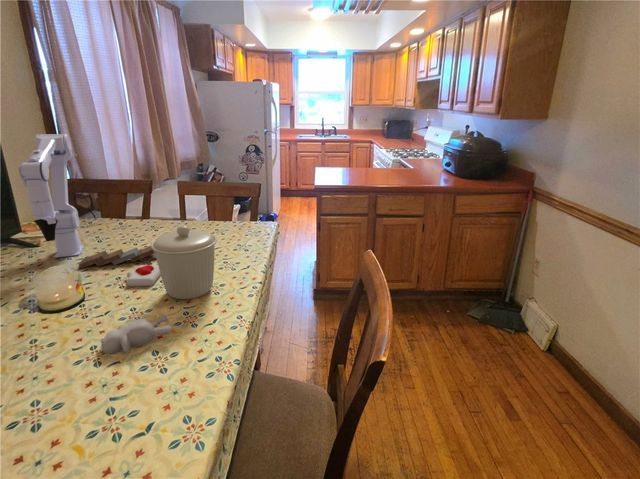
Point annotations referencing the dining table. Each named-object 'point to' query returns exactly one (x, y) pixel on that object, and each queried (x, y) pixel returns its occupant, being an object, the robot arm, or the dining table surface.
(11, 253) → the dining table surface
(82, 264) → the domino
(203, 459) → the dining table surface
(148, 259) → the domino
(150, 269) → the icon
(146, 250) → the domino
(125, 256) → the loose domino
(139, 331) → the bunny figurine
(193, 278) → the canister
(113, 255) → the domino
